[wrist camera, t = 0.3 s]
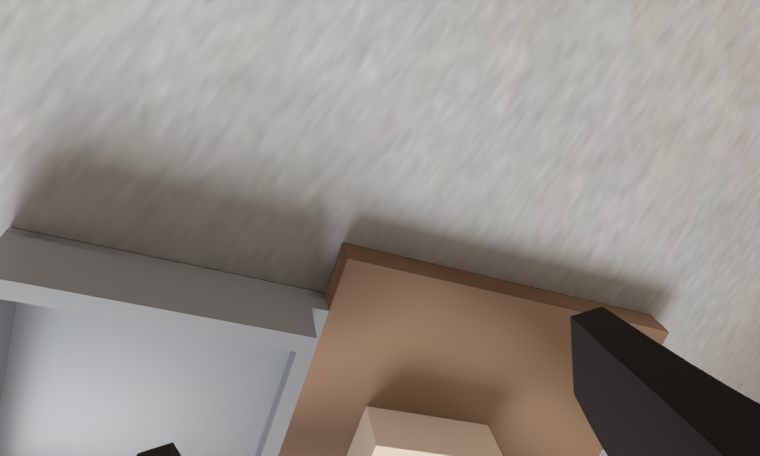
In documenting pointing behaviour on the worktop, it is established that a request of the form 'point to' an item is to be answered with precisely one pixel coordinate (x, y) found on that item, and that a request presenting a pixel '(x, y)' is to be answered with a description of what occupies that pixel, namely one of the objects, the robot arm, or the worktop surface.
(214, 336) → the box
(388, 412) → the tile
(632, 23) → the worktop surface
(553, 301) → the board
